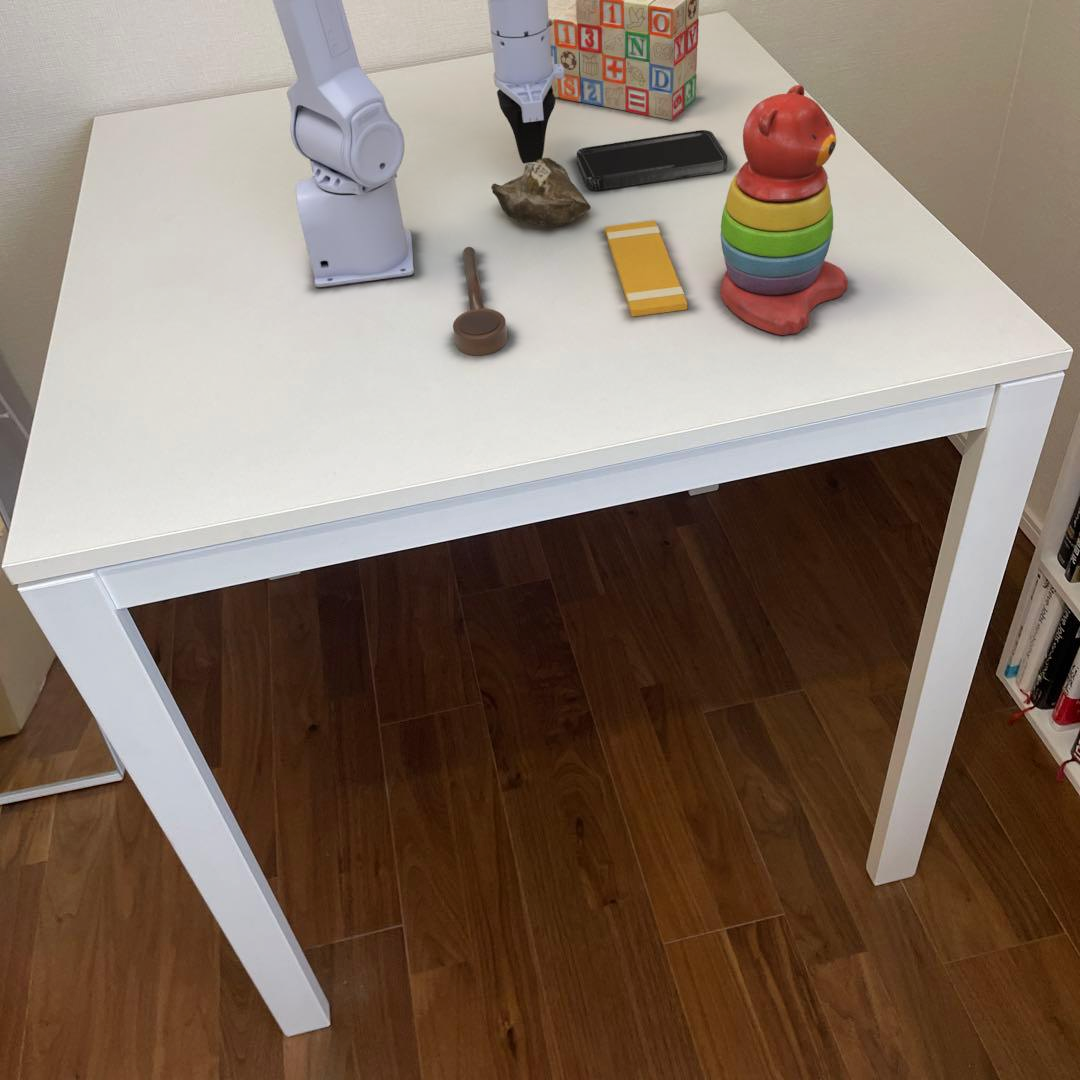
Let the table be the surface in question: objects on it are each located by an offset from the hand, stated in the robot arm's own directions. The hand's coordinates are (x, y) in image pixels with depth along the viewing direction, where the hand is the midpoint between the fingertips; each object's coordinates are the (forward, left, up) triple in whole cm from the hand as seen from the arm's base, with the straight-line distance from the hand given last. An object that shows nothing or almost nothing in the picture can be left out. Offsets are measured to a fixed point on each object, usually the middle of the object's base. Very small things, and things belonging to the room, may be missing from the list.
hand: (531, 159), depth 116 cm
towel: (+8, -21, -2) cm, 23 cm away
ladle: (-8, -23, -2) cm, 24 cm away
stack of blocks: (+11, +18, -2) cm, 21 cm away
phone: (+13, -1, -2) cm, 13 cm away
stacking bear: (+19, -28, -2) cm, 34 cm away
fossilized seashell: (0, -9, -2) cm, 9 cm away
